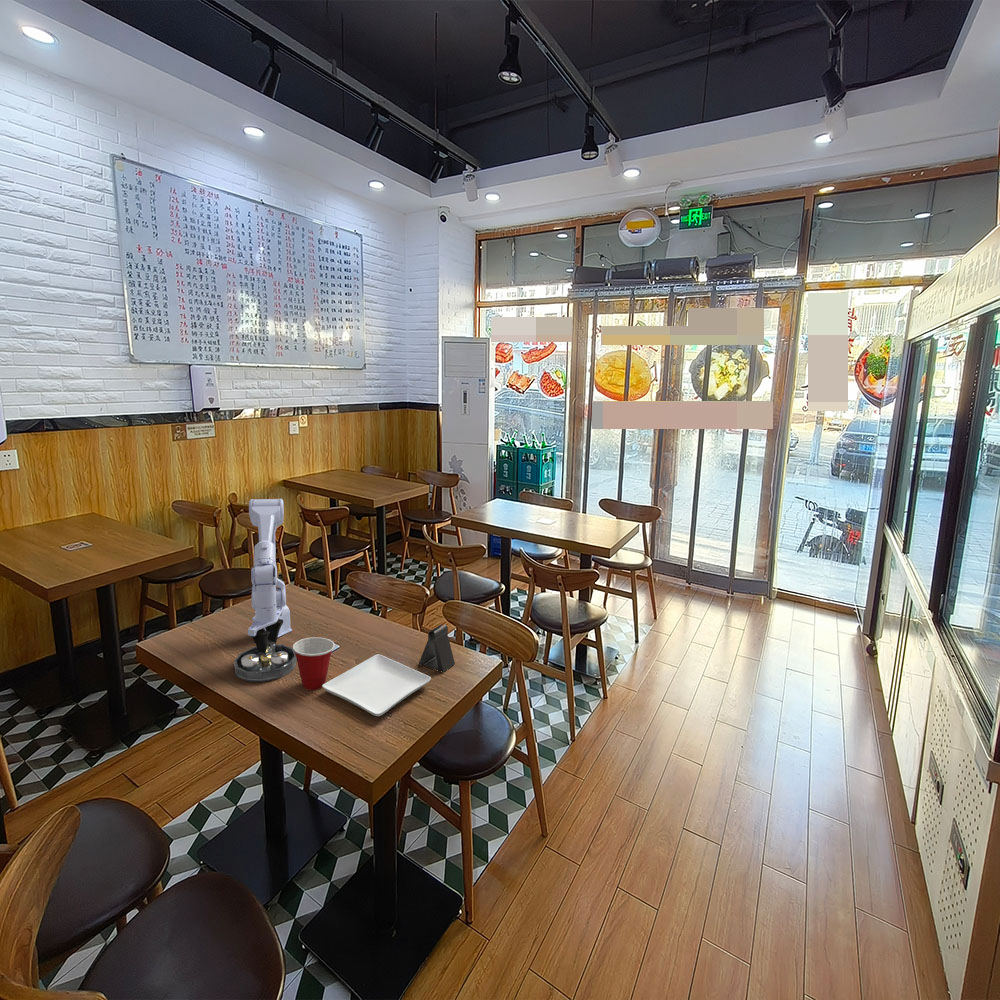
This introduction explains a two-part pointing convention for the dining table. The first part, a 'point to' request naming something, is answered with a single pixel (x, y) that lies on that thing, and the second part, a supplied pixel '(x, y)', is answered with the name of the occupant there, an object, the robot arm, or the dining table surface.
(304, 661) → the plastic cup
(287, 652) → the carrier
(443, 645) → the phone stand
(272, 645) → the octagonal tube
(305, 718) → the dining table surface
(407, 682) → the salad plate
